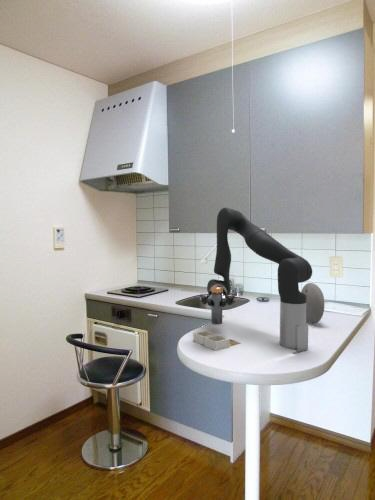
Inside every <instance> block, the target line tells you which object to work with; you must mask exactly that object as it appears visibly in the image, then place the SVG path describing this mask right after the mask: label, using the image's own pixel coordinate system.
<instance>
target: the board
mask: <svg viewBox="0 0 375 500" xmlns="http://www.w3.org/2000/svg"><path fill="white" fill-rule="evenodd" d="M229 339H230V347H232V346H236V345H237V346H238V345H240V344H242V342H239V341H237V340H234V339H231V338H229ZM198 344H199V345H201V346H203V345H202V344H200V343H198ZM207 348H208V349H210V348H209V347H207Z"/></svg>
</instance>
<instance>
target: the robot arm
mask: <svg viewBox="0 0 375 500" xmlns="http://www.w3.org/2000/svg"><path fill="white" fill-rule="evenodd" d="M216 216H217V217H216V250H215V251H216V254H215V260H214V266H213V273H214V274H216V275H217V276H221V277H222V278H223V280H220V279H213V278H212V279H210V280H208V282H207V284H206V291H207V295H204V294H199V302H200V303H201V304H202V305H207V306H208V307H211V287H214V286H219V287H223V293H222V308H223V307H224V308H225V306H227V305H228V306H231V305H232V304H234V303H236V295H230V294H231V292H232V291H231V283H230V282H231V280H230V270H231V264H232V263H231V262H232V252H231V249H230V248H231V247H230V245H229V239H228V238H229V237H228V236H229V235H228V233H229V230H230V231H233V232H236V233H237V234H239V235H240V236H242V237H243V239H244V243H245V245H246V246H247V247H248V248H249V249H250V250H251V251H252V252H254V253H255V254H256V255H257V256H260V257H261V258H263V259H266V260H268V261H271V262H272V263H276V264H277V265H278V266H277V292H278V295H279V297H280V298H279V299H280V301H279V302H280V303H279V346H281V347H283V348H286V349H290V350H293V351H295V352H296V353H301V352H303V351H306V350H308V349H309V322H307V320H306V295H305V294H304V293H301V290H300V289H299V284H301V283H305V282H308V281H309V280H310V279H311V278H312V276H313V268H312V265H311V264H310V262H309V261H308V260H307V259H305V258H304V257H303V256H301V255H299V254H297V253H296V252H293V251H291V250H290V249H288V248H287V247H286V246H284V245H283V244H282V243H280V242H279V241H278V240H276V239H275V238H274V237H272V235H270V234H269V233H268V232H266V231H265V230H264V229H263V228H262V229H261V228H260V227H258V226H257V225H255V224H253V222H251V221H250V220H249V219H248V218H247V217H246V216H245V215H244V214H243V212H241V211H239V210H235V209H233V208H229V207H223V208H221V209H220V210H219V212H218V214H217V215H216ZM229 295H230V296H229Z"/></svg>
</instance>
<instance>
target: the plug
mask: <svg viewBox="0 0 375 500" xmlns="http://www.w3.org/2000/svg"><path fill="white" fill-rule="evenodd" d="M222 293H223V287H219V286H214V287H211V308H210V309H211V311H210V313H211V315H210V319H211V320H210V321H211V322H210V323H211V324H213V325H222V324H223V307H222Z"/></svg>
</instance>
